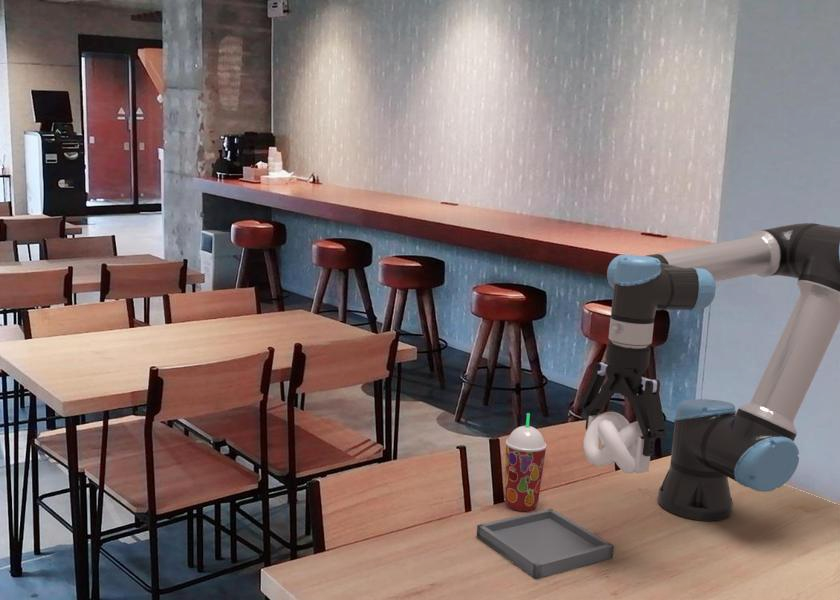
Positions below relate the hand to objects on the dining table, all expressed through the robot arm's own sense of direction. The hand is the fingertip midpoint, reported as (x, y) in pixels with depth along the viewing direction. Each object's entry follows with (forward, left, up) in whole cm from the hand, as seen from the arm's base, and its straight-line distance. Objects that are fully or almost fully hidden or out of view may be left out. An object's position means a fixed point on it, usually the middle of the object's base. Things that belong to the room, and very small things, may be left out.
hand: (615, 460), depth 163 cm
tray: (+8, -8, -19) cm, 22 cm away
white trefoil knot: (0, +1, -1) cm, 1 cm away
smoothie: (0, -25, -19) cm, 31 cm away
